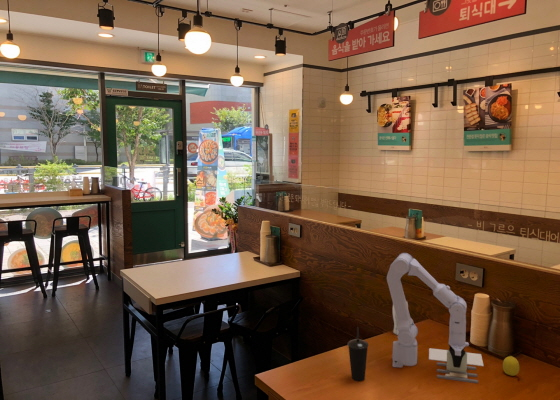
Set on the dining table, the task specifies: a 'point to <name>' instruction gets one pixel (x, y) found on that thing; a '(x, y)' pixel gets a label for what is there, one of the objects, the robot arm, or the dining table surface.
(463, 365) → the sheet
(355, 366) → the drinking cup
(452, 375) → the offcut top
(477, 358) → the board
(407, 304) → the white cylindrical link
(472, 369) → the rack
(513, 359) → the lemon
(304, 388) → the dining table surface
